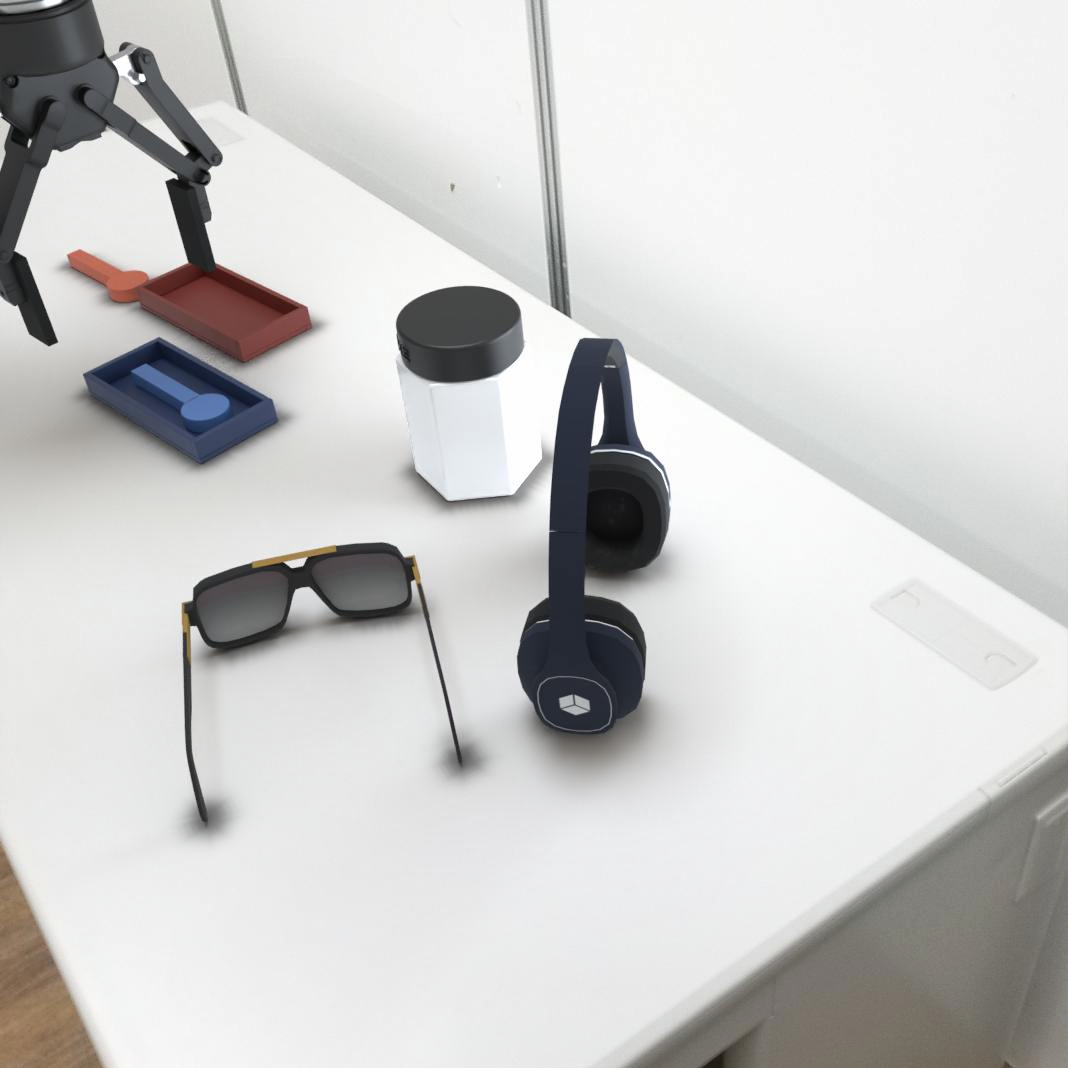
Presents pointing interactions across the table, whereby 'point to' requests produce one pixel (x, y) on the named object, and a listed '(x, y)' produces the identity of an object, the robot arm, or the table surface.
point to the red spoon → (109, 275)
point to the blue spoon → (185, 400)
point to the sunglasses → (266, 595)
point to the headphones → (594, 551)
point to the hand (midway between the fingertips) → (126, 301)
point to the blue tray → (166, 421)
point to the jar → (468, 391)
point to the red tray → (224, 309)
